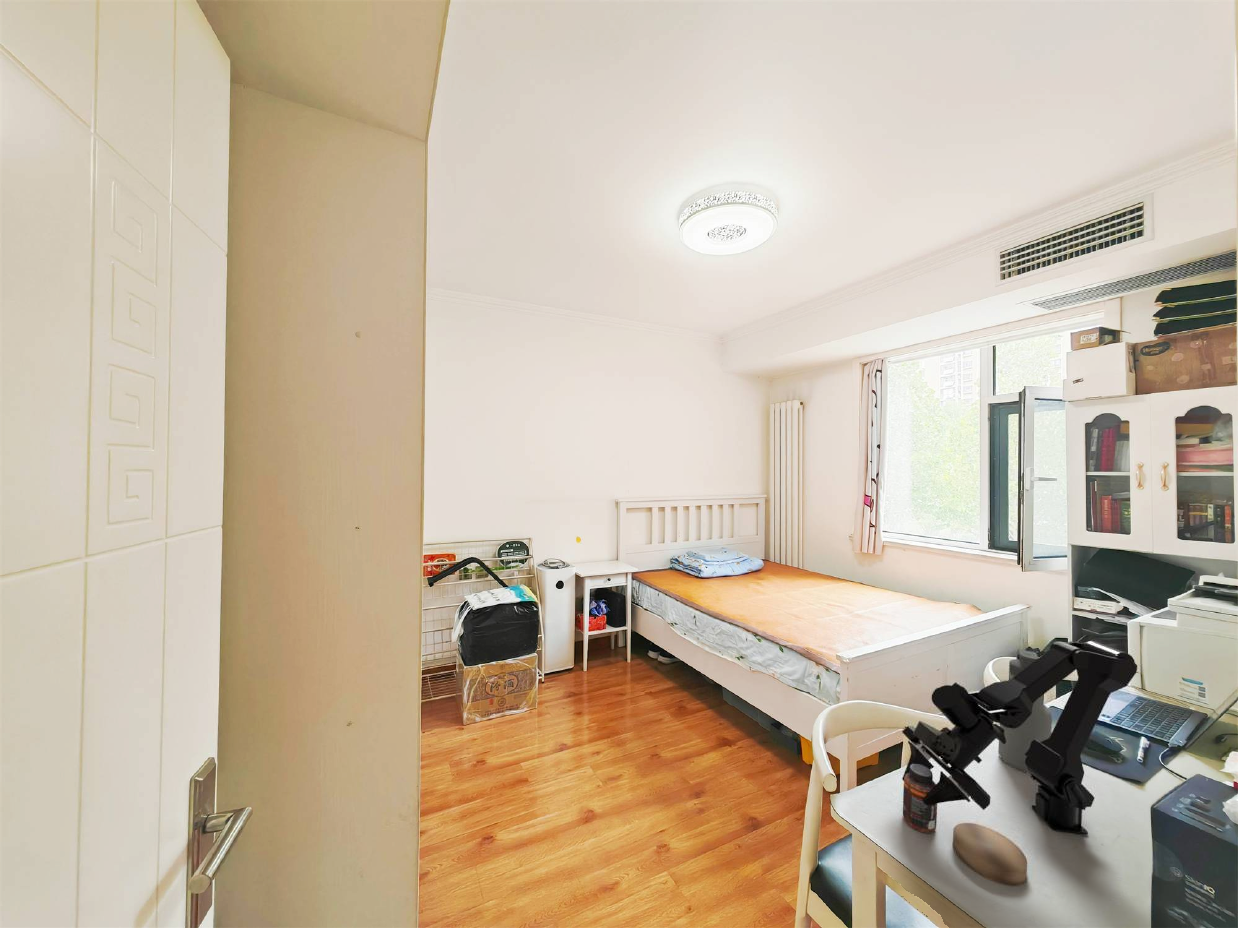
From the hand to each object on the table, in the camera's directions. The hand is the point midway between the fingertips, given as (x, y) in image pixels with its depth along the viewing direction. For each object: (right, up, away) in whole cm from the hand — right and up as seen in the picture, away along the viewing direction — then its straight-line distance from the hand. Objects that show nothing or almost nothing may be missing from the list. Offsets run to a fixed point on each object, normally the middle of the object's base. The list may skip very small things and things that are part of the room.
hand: (913, 791), depth 96 cm
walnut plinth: (+9, -7, -8) cm, 14 cm away
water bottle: (+41, -7, +21) cm, 46 cm away
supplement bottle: (+1, -7, 0) cm, 7 cm away
